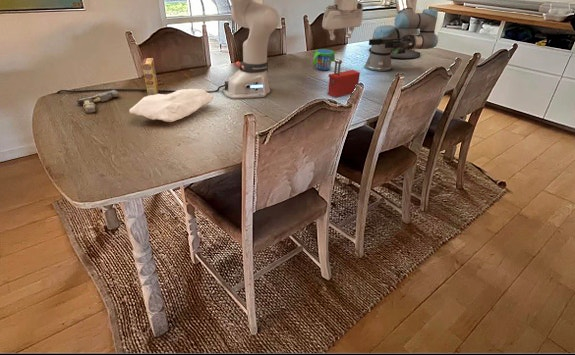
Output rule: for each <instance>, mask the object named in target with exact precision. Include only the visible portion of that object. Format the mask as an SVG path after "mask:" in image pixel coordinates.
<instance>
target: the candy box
mask: <svg viewBox="0 0 575 355" xmlns="http://www.w3.org/2000/svg"><path fill="white" fill-rule="evenodd" d="M141 66H142V73H143V78H144V82H145V87H146V89H147V91H146V92H147V96H150V95H156V94H159V90H160V89H159V84H158V79H157V73H156V66H155V62H154V58H153V57H151V58H150V57H149V58H146V57H145V58H143V60H142V63H141Z"/></svg>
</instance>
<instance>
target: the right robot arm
mask: <svg viewBox="0 0 575 355" xmlns="http://www.w3.org/2000/svg"><path fill="white" fill-rule="evenodd" d="M417 2H418V0H394V4H395V7H396V12H397V14H396V15H395V17H394V23H393V24H394V25H391V24H388V25H387V24H386V25H385V24H384V25H379V26H377V27H375V28H374V30H373V33H372V38H370V39H369V40H368V46H370V48H371V52H370V51H369V52H370V53H369V56H368V57H367V60H366V61H365V65H364V66H365V68H366V69H367V70H370V71H374V72H389V71H391V70H392V59H391V58H392V57H390V54H391V50H401V49H404V50H413V51H415V52H416V50H428V49H429V50H430V49H434V48H435V47H436V46H437V45H438V43H439V38H438V35H437V34H436V25H437V20H438V15H439V14H438V9H436V8H424V9H423V10H422V12H417V11H416V9H417V4H418V3H417ZM416 12H417V13H416Z"/></svg>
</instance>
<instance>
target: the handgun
mask: <svg viewBox="0 0 575 355" xmlns="http://www.w3.org/2000/svg"><path fill="white" fill-rule="evenodd" d="M119 96H120V94H119V92H118V91H115V90H112V91H103V92H101V93H96V94H94V95H86V94H85V95H84V94H83V95H81V96H80V97H77V98H76V101H77V104H78V105H82V108H83V109H84V110H85V113H87V114H91V113H95V112H96V104H95V103H98V102H106V101H109V100H111V99H113V98H117V97H119Z"/></svg>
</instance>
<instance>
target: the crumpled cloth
mask: <svg viewBox="0 0 575 355" xmlns="http://www.w3.org/2000/svg"><path fill="white" fill-rule="evenodd" d="M174 91H175V92H170V93H167V94H163V93H158V94H156V95H150V96H148V95H146V96H144V97H142V98H141V99H140V100H139V101H138V102H137V103H136V104H134V105H133V106H132V107H131V108H129V114H130V115H135V116H140V117H145V118H146V119H149V120H152V121H155V120H158V121H163V122H166V123H174V122H176V121H178V120H181V119H183V118H185V117H188V116H190V115H192V114H193V113H195V112H196V111H197V110H199V109H200V108H202V107H204V106H206V105H207V104H210V102H211V101H212V100H213V99H214V98H213V97H214V96H213V94H212V93H208V92H206V90H203V89H201V88H187V89H186V88H185V89H184V88H183V89H177V90H174Z"/></svg>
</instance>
